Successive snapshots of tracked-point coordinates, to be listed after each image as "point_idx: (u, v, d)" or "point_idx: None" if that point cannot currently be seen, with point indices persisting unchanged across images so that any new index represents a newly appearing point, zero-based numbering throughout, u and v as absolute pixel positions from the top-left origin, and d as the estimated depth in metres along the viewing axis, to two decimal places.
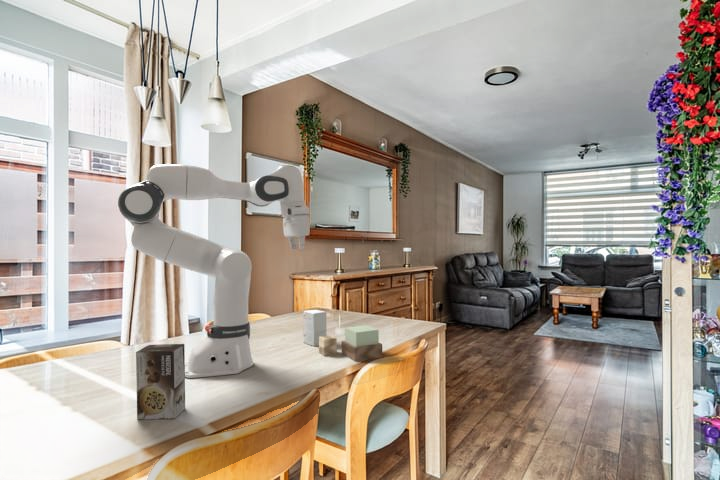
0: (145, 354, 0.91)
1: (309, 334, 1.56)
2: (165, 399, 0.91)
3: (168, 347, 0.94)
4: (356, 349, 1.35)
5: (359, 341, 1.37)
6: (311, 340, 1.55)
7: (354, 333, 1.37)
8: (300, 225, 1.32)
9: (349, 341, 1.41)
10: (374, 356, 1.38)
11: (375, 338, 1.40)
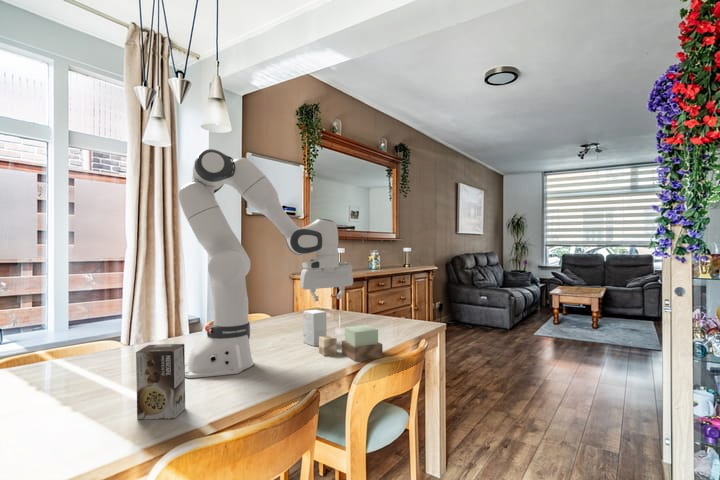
0: (145, 355, 0.91)
1: (309, 334, 1.56)
2: (165, 399, 0.91)
3: (168, 347, 0.94)
4: (356, 349, 1.35)
5: (358, 341, 1.37)
6: (311, 340, 1.55)
7: (353, 333, 1.37)
8: (300, 279, 1.41)
9: (349, 341, 1.41)
10: (374, 356, 1.38)
11: (374, 338, 1.39)
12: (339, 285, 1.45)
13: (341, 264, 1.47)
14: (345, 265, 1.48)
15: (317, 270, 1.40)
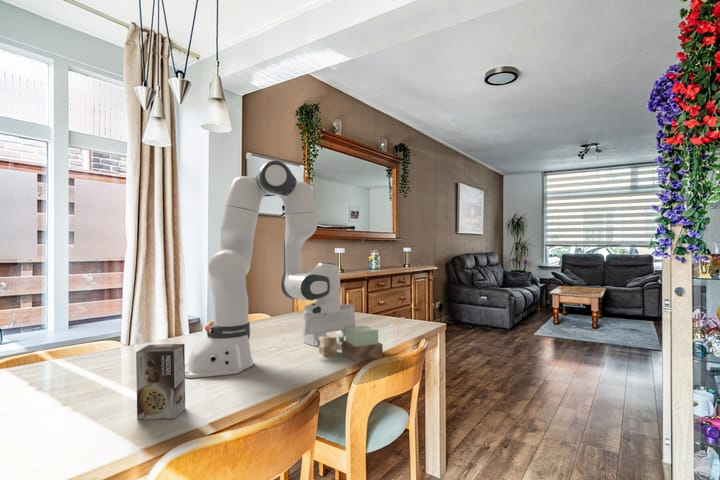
0: (145, 354, 0.91)
1: None
2: (165, 399, 0.91)
3: (168, 347, 0.94)
4: (356, 349, 1.35)
5: (358, 341, 1.36)
6: (311, 340, 1.55)
7: (353, 333, 1.37)
8: (302, 324, 1.41)
9: (349, 341, 1.41)
10: (374, 356, 1.38)
11: (374, 338, 1.39)
12: (341, 328, 1.44)
13: (343, 307, 1.46)
14: (347, 308, 1.47)
15: (319, 315, 1.39)
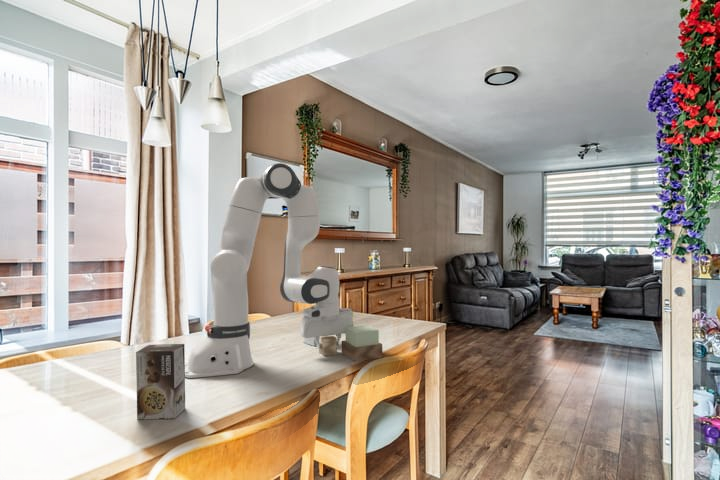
0: (145, 354, 0.91)
1: None
2: (165, 399, 0.91)
3: (168, 347, 0.94)
4: (356, 349, 1.35)
5: (358, 341, 1.36)
6: (311, 340, 1.55)
7: (354, 333, 1.37)
8: (301, 327, 1.41)
9: (349, 341, 1.40)
10: (374, 356, 1.38)
11: (375, 339, 1.39)
12: (339, 332, 1.45)
13: (342, 311, 1.47)
14: (346, 311, 1.48)
15: (317, 319, 1.40)
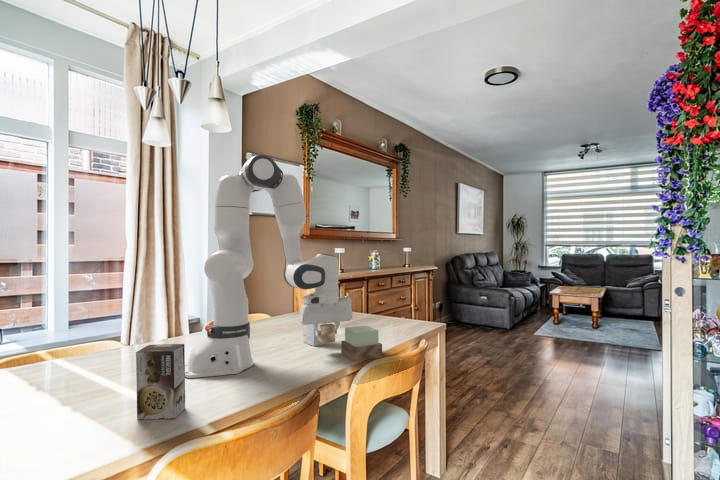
0: (145, 354, 0.91)
1: (309, 334, 1.56)
2: (165, 399, 0.91)
3: (168, 347, 0.94)
4: (356, 349, 1.35)
5: (358, 341, 1.36)
6: (311, 340, 1.55)
7: (354, 333, 1.37)
8: (300, 313, 1.41)
9: (349, 341, 1.40)
10: (374, 356, 1.38)
11: (375, 339, 1.39)
12: (338, 320, 1.45)
13: (341, 299, 1.47)
14: (345, 299, 1.48)
15: (317, 305, 1.40)
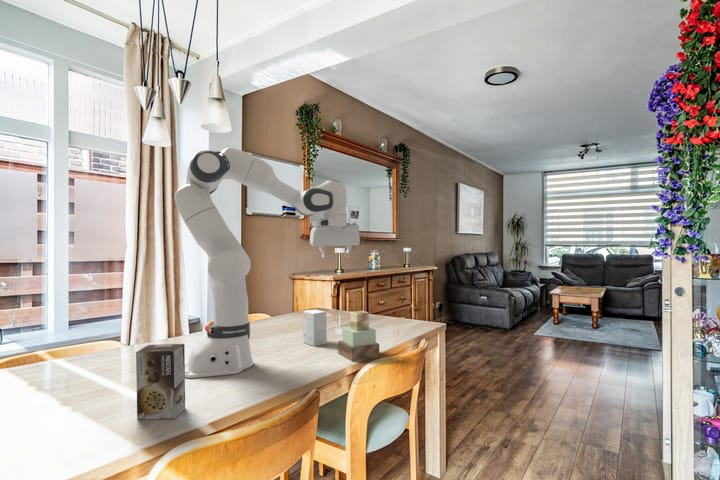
0: (145, 354, 0.91)
1: (309, 334, 1.56)
2: (165, 399, 0.91)
3: (168, 347, 0.94)
4: (353, 349, 1.35)
5: (355, 341, 1.36)
6: (311, 340, 1.55)
7: (351, 333, 1.37)
8: (310, 236, 1.49)
9: (346, 341, 1.41)
10: (371, 356, 1.38)
11: (372, 338, 1.39)
12: (346, 244, 1.53)
13: (349, 224, 1.55)
14: (352, 226, 1.56)
15: (326, 228, 1.48)
